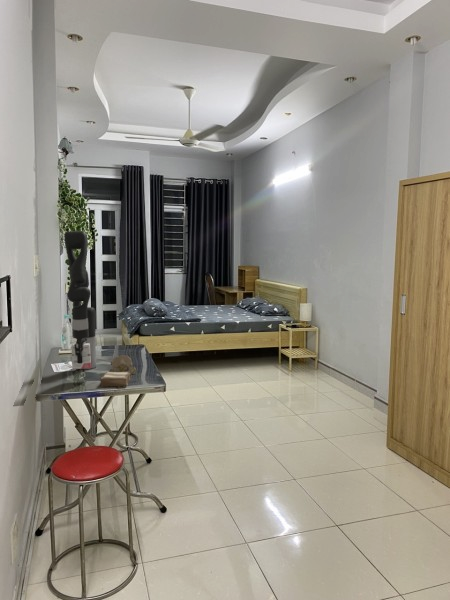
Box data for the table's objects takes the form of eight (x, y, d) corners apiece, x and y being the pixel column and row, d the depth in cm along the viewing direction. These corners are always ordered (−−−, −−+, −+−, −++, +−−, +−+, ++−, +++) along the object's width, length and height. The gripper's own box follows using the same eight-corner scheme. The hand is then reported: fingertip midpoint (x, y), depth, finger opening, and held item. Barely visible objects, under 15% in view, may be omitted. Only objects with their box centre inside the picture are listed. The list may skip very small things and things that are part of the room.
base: (106, 379, 231) (106, 371, 231) (130, 379, 231) (130, 371, 231) (100, 386, 219) (100, 378, 219) (126, 386, 219) (126, 377, 219)
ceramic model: (109, 376, 237) (108, 357, 236) (107, 371, 247) (107, 353, 246) (137, 374, 241) (136, 355, 240) (134, 369, 252) (133, 351, 251)
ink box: (91, 365, 232) (90, 342, 231) (90, 368, 227) (89, 344, 226) (73, 366, 230) (72, 343, 229) (72, 369, 225) (71, 345, 224)
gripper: (76, 325, 233) (77, 358, 235) (68, 330, 219) (69, 365, 221) (91, 325, 233) (92, 357, 236) (84, 330, 219) (85, 365, 221)
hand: (81, 361), depth 228 cm, fingers closed on ink box, 5 cm apart
